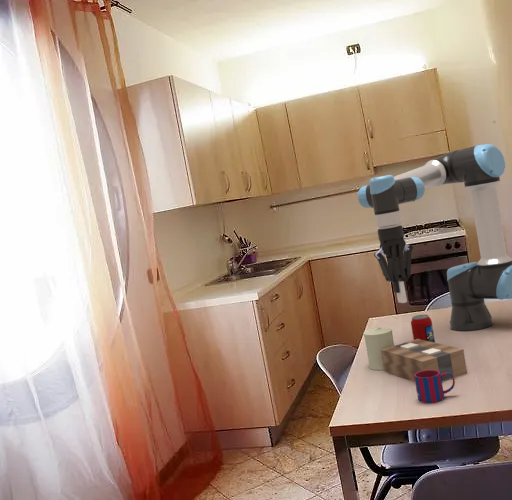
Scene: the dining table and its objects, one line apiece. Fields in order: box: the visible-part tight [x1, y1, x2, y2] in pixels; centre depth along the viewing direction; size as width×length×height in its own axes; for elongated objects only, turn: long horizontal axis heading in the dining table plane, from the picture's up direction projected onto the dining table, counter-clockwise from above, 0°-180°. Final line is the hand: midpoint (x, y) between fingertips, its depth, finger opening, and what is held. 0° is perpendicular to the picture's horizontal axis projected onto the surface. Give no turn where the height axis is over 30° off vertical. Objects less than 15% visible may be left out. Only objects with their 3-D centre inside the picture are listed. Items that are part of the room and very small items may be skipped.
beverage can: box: [410, 314, 436, 343], centre depth 207 cm, size 7×7×12 cm
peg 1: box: [400, 343, 419, 350], centre depth 191 cm, size 4×4×7 cm
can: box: [363, 326, 395, 371], centre depth 200 cm, size 9×9×12 cm
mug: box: [414, 370, 456, 404], centre depth 163 cm, size 7×10×7 cm
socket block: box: [381, 339, 468, 383], centre depth 186 cm, size 22×14×7 cm, turn 21°
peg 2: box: [422, 348, 441, 356], centre depth 181 cm, size 4×4×7 cm
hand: (402, 302), depth 190 cm, fingers closed
